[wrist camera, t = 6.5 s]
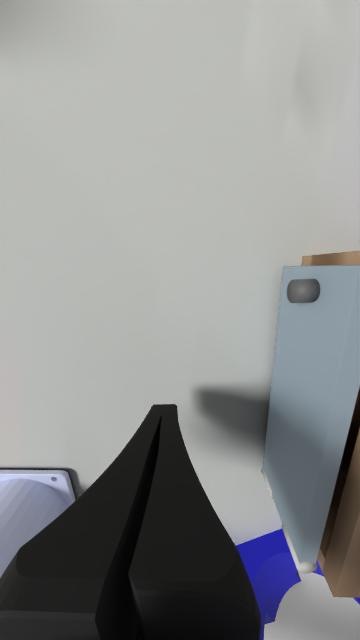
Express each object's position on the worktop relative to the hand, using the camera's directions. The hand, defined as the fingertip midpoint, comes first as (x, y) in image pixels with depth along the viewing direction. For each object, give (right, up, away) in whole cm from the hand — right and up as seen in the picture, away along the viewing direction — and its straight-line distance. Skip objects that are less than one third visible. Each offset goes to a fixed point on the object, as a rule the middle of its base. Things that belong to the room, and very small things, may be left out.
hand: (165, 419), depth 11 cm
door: (+7, +1, +2) cm, 7 cm away
